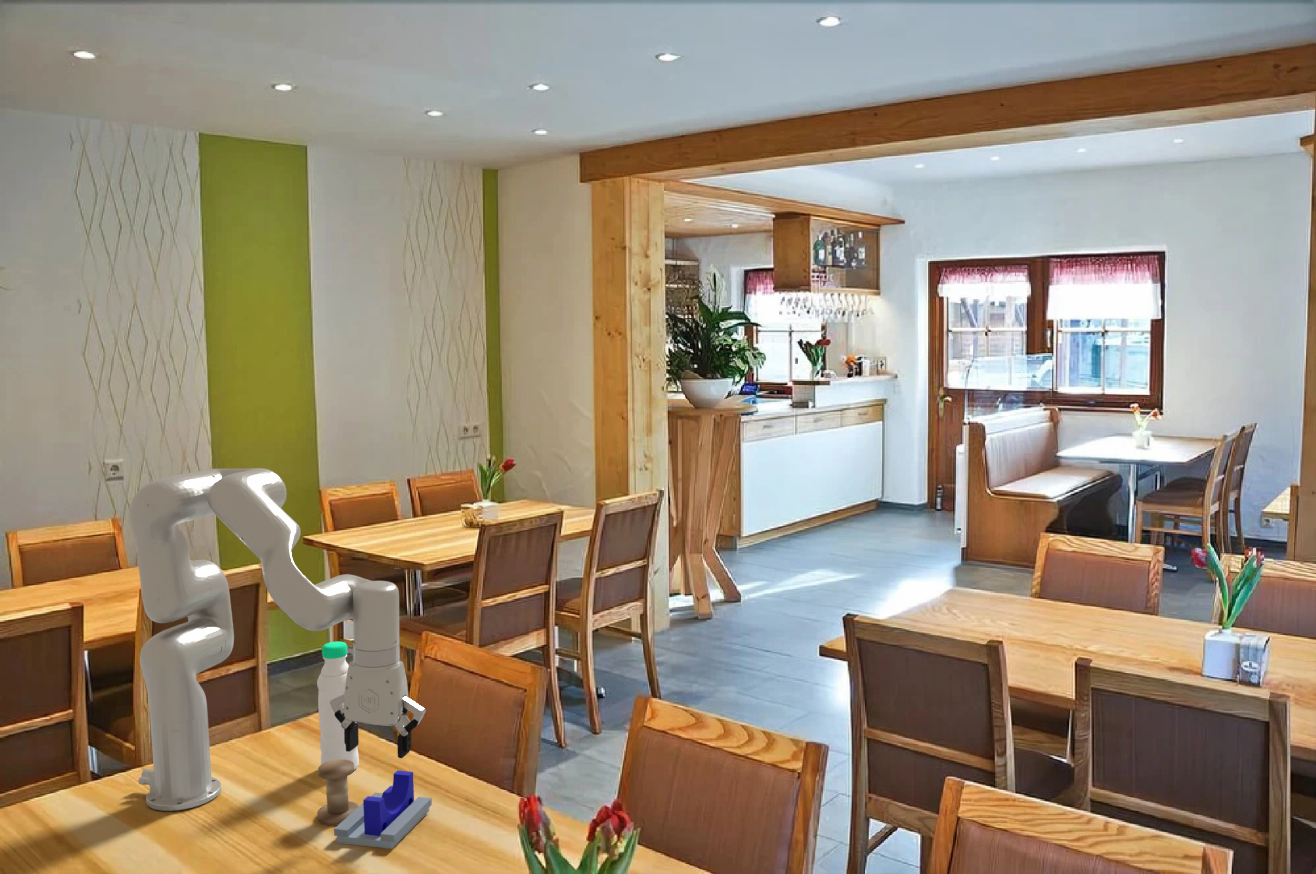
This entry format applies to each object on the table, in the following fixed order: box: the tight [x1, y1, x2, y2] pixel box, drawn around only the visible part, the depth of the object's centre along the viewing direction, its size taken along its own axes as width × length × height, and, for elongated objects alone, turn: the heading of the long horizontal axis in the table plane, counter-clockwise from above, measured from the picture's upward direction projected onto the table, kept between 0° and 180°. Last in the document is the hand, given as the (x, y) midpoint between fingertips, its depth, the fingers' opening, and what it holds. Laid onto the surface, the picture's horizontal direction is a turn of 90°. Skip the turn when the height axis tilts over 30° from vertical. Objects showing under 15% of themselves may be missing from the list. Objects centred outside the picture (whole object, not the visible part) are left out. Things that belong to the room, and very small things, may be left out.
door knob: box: [316, 759, 360, 826], centre depth 187 cm, size 7×7×9 cm
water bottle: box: [316, 641, 360, 771], centre depth 205 cm, size 7×7×25 cm
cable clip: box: [362, 770, 415, 836], centre depth 183 cm, size 12×4×6 cm, turn 166°
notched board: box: [333, 792, 433, 850], centre depth 183 cm, size 11×14×2 cm
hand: (377, 751), depth 182 cm, fingers open, 9 cm apart
